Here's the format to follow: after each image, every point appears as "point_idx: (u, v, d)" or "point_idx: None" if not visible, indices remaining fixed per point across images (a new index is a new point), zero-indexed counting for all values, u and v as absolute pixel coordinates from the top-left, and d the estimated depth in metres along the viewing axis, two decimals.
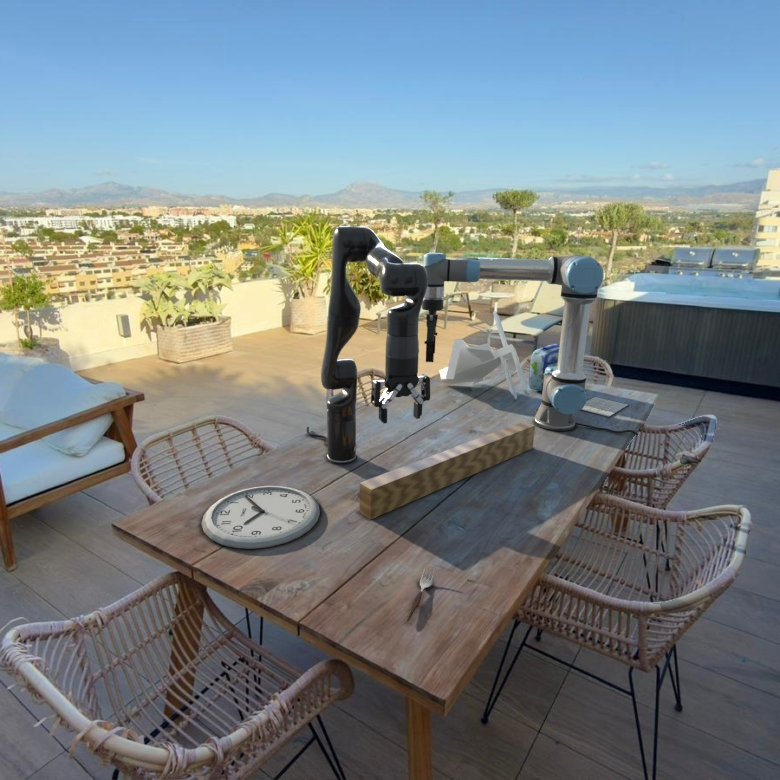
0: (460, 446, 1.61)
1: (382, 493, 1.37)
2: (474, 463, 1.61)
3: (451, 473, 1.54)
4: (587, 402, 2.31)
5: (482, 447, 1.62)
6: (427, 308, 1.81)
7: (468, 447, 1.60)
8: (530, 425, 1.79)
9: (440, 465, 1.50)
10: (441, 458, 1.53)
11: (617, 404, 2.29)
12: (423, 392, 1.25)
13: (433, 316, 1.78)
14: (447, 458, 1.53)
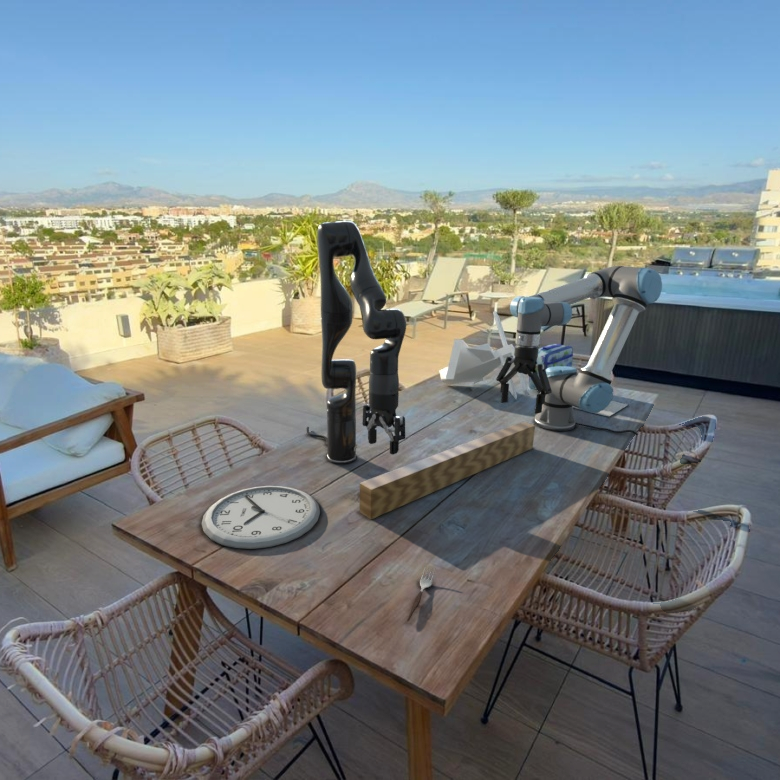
0: (460, 446, 1.61)
1: (382, 493, 1.37)
2: (474, 463, 1.61)
3: (451, 473, 1.54)
4: None
5: (482, 447, 1.62)
6: (532, 357, 1.67)
7: (468, 447, 1.60)
8: (530, 425, 1.79)
9: (440, 465, 1.50)
10: (441, 458, 1.53)
11: (617, 404, 2.29)
12: None
13: (544, 365, 1.67)
14: (447, 458, 1.53)
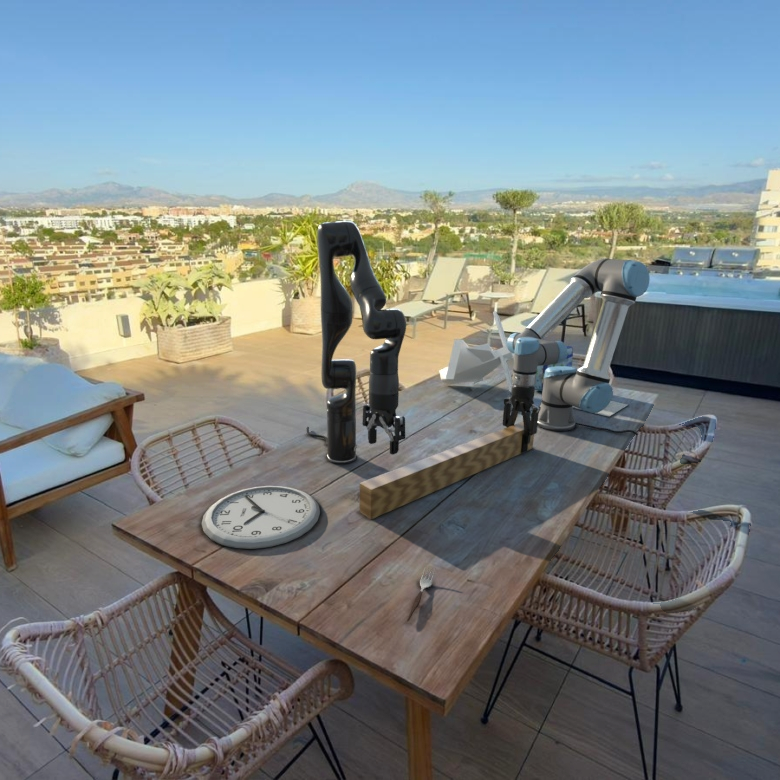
0: (460, 446, 1.61)
1: (382, 493, 1.37)
2: (474, 463, 1.61)
3: (451, 473, 1.54)
4: None
5: (482, 447, 1.62)
6: (528, 396, 1.71)
7: (468, 447, 1.60)
8: None
9: (440, 465, 1.50)
10: (441, 458, 1.53)
11: (617, 404, 2.29)
12: None
13: (539, 409, 1.71)
14: (447, 458, 1.53)
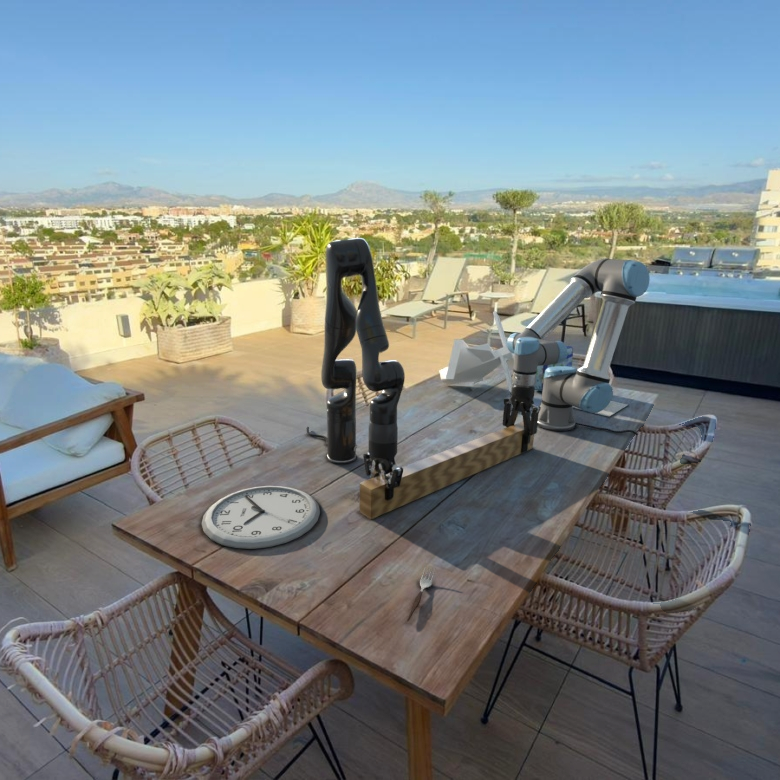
0: (460, 446, 1.61)
1: (382, 493, 1.37)
2: (474, 463, 1.61)
3: (451, 473, 1.54)
4: None
5: (482, 447, 1.62)
6: (528, 396, 1.71)
7: (468, 447, 1.60)
8: None
9: (440, 465, 1.50)
10: (441, 458, 1.53)
11: (617, 404, 2.29)
12: None
13: (539, 409, 1.71)
14: (447, 457, 1.53)
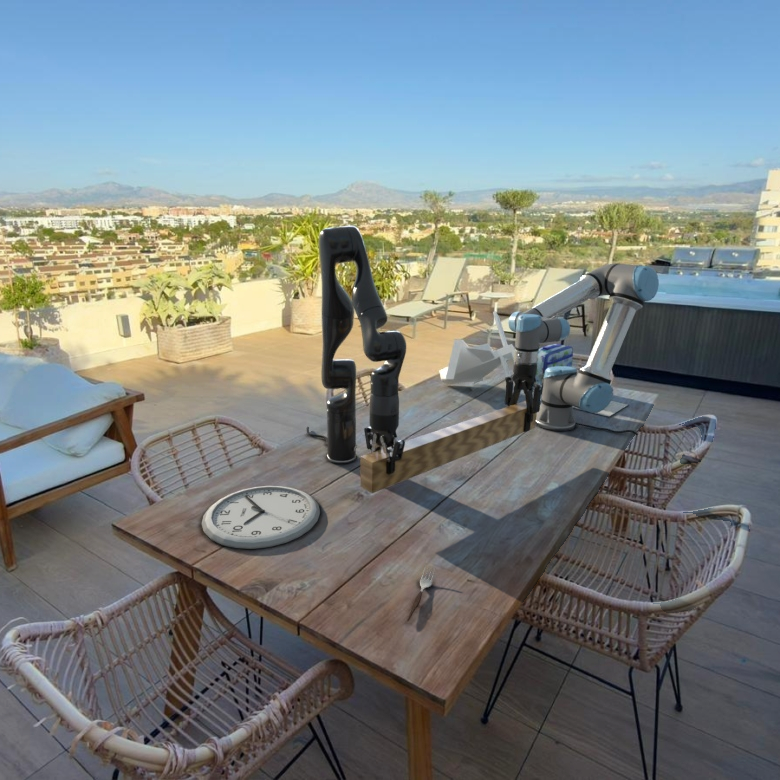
0: (462, 423, 1.59)
1: (384, 466, 1.35)
2: (476, 440, 1.59)
3: (453, 449, 1.52)
4: None
5: (484, 424, 1.60)
6: (530, 374, 1.69)
7: (470, 424, 1.58)
8: None
9: (442, 441, 1.48)
10: (443, 433, 1.51)
11: (617, 404, 2.29)
12: None
13: (542, 386, 1.69)
14: (449, 433, 1.51)
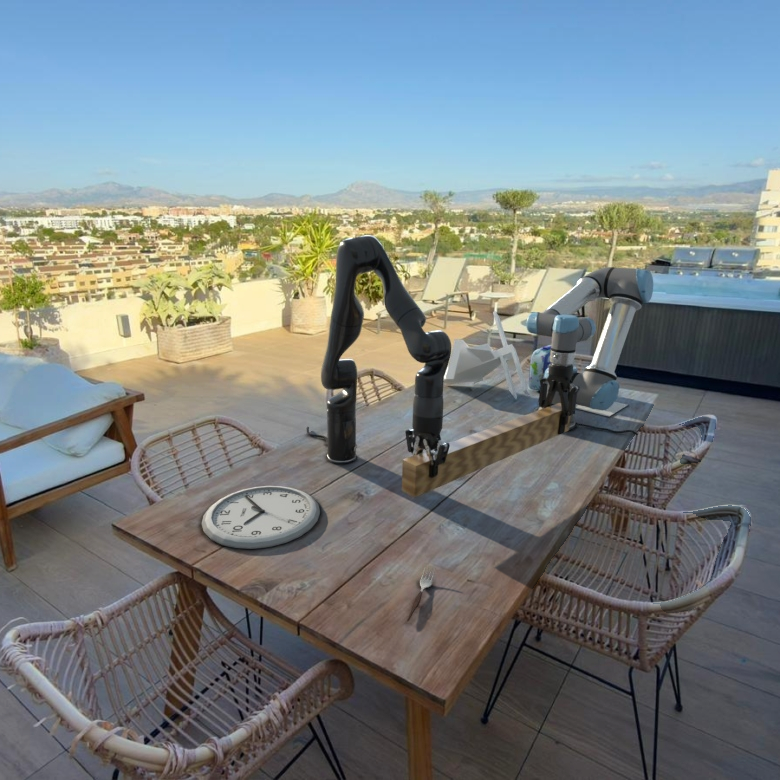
0: (499, 425, 1.56)
1: (426, 470, 1.32)
2: (514, 443, 1.56)
3: (492, 452, 1.49)
4: None
5: (522, 426, 1.57)
6: (566, 376, 1.66)
7: (507, 426, 1.55)
8: None
9: (482, 444, 1.45)
10: (482, 436, 1.48)
11: (617, 404, 2.29)
12: None
13: (578, 388, 1.66)
14: (488, 436, 1.48)
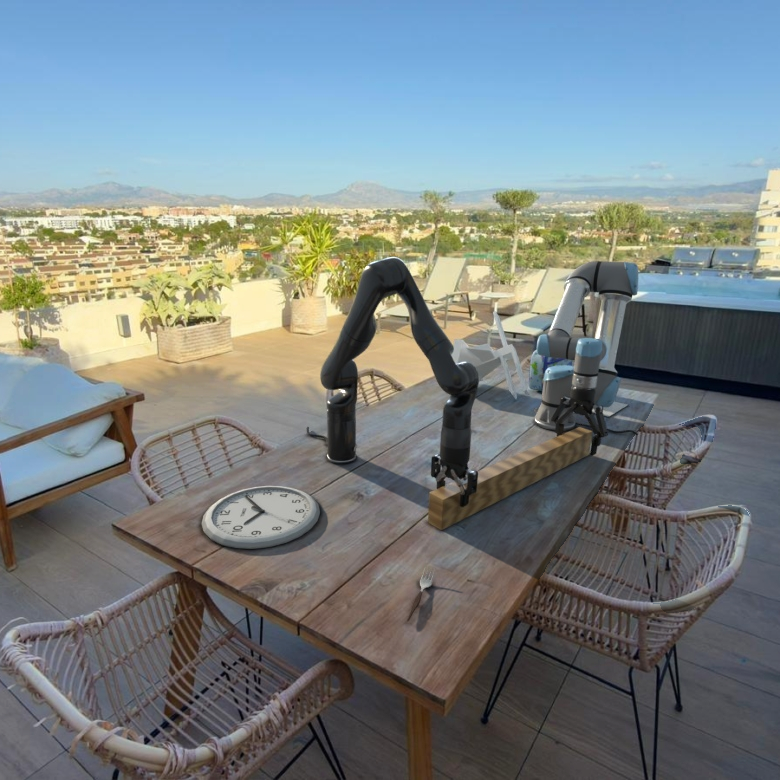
0: (522, 453, 1.57)
1: (453, 503, 1.33)
2: (536, 471, 1.57)
3: (515, 481, 1.50)
4: None
5: (544, 454, 1.58)
6: (589, 399, 1.66)
7: (530, 454, 1.56)
8: (587, 431, 1.75)
9: (506, 473, 1.46)
10: (506, 465, 1.48)
11: (617, 404, 2.29)
12: None
13: (602, 407, 1.66)
14: (512, 465, 1.48)
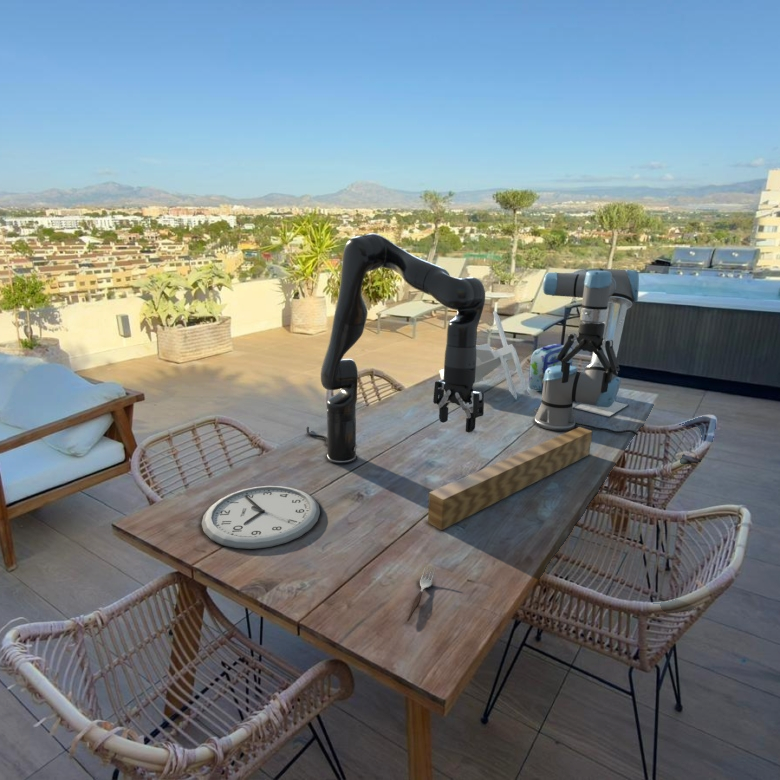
0: (522, 453, 1.57)
1: (453, 503, 1.33)
2: (536, 471, 1.57)
3: (515, 481, 1.50)
4: None
5: (544, 454, 1.58)
6: (598, 333, 1.60)
7: (530, 454, 1.56)
8: (587, 431, 1.75)
9: (506, 473, 1.46)
10: (506, 465, 1.48)
11: (617, 404, 2.29)
12: None
13: (612, 341, 1.59)
14: (512, 465, 1.48)
